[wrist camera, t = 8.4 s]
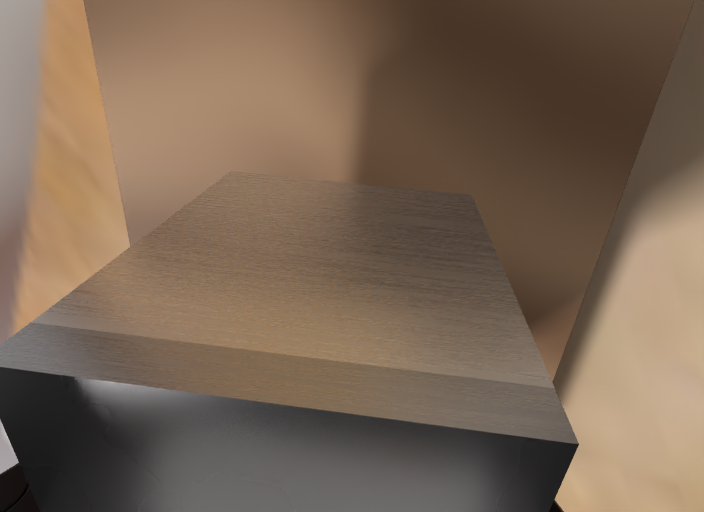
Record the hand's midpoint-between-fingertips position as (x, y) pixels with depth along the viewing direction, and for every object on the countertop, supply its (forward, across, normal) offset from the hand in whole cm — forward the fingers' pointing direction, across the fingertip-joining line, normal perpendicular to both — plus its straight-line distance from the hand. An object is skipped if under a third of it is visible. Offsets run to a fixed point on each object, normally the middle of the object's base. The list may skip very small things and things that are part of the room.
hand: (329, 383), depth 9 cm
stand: (+8, 0, 0) cm, 8 cm away
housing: (+2, 0, 0) cm, 2 cm away
